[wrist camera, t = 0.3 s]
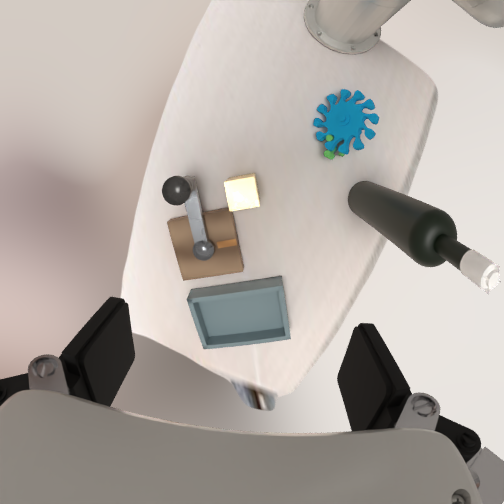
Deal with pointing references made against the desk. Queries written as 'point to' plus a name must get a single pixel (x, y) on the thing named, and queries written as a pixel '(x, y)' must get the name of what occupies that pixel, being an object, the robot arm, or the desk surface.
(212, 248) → the crank
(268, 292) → the tray
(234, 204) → the block
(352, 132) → the blue lobed piece
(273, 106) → the desk surface
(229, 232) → the crank base
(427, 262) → the wine bottle
